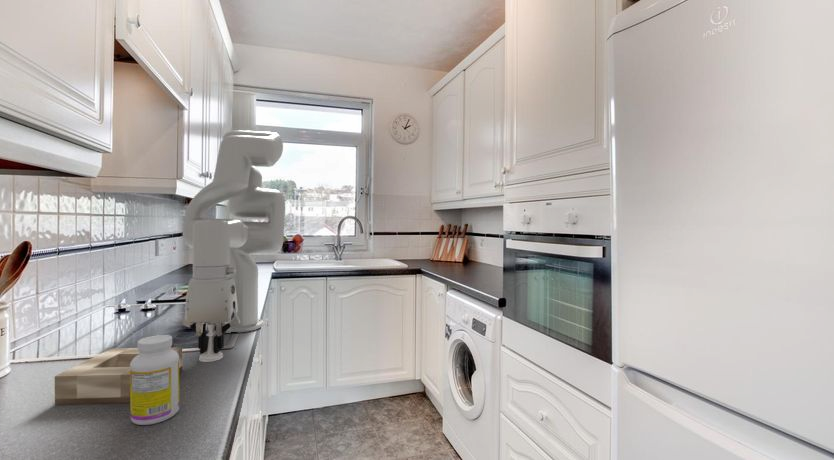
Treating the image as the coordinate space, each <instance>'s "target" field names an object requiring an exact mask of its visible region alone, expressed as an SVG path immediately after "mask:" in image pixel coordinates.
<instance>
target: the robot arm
mask: <svg viewBox="0 0 834 460" xmlns="http://www.w3.org/2000/svg"><path fill="white" fill-rule="evenodd" d="M283 144H284V142H283V139H282V137H281V135H280V134H278V132H274V131H273V132H271V131H258V130H257V131H255V130H243V129H242V130H240V129H239V130H230V131H226V132H225V133H224V134H223V137H222V140H221V142H220V144H219V149H218V155H217V159H216V164H215V169H214V174H213V179H212V181H211V182H210V183H208V184H207V185H206V186H204V187H202V189H200V190H199V191H198V193H196V194H195V195H194V196H193V198H192V199H191V200H190V202H189V203H188V206H187V208H186V211H185V215H184V220H183V227H182V240H183V242H184V243H185V245H186V246H188V247H189V248H191V249H192V278H191V279H189V281H188V287H187V291H186V297H185V307H184V308H185V311H184V317H183V319H182V321H181V325H182V326H184V327H187V328H190V329H191V330H192V331H193V333H194V334H195V336H197V337H198V340H197V341H198V346H197V347H198V349H199V354H200V355H202V354H204V353H206V351H207V348H208V342H209V336H206V334H207V333H208V328H207V326H206V325H207V324H208V323H216V326H215V332H216V335H214V353H218V352H222V350H223V348H224V346H225V333H226V334H232V333H231V332H238V333H246V332H252V331H255V330H258V329H261V328H262V327H263V326H264V320H262V319H260V318H259V308H258V307H259V290H258V289H259V267H258V265H257V263H256V262H255V260H254V258H252V256H251V255H255V254H261V255H262V254H267V255H268V254H277V253H279V252H280V251H281V250H282V248H283V245H284V235H285V221H286V218H285V216H286V199H285V196H284V195H283V192H281V191H280V190H278V189H273V188H262V186H263V185H262V183H263V175H262V174H261V172H260V171H259V169H258V168H259V167H261V168H262V167H263V168H265V167H266V168H269V167H273V166H274V165H276V163H277V162H278V161H279V160H280V159H281V157H282V155H283V151H284V145H283ZM257 167H258V168H257ZM228 200H229V203H228V204H229V206H228V208H229V209H228V210H229V213H230V214H231V216H232V217H233V218H212V217H208V218H205V217H204V216H205V214H206V213H208V211H209V210H210V209H211V208H213V207H214V206H215V205H218V204H220V203H223V202H226V201H228ZM234 218H235V219H234ZM239 219H241V220H239ZM242 220H243V221H242ZM244 220H247V221H244ZM248 220H250V221H248ZM251 220H264V221H251ZM265 220H267V221H265ZM238 333H237V334H238Z"/></svg>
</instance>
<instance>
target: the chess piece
mask: <svg viewBox="0 0 834 460" xmlns="http://www.w3.org/2000/svg"><path fill="white" fill-rule="evenodd" d="M206 326H207V334H206V336H209V342H208V348H207V351H206V352H205V353H203V354H200V355H199V359H198V360H199V361H200V362H202V363H211V362H215V361H218V360H221V359H222V358H224V354H223V352H222V351H219V352H218V353H214V336H216V331H215V330H216V323H207V325H206Z"/></svg>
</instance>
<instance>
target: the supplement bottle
mask: <svg viewBox="0 0 834 460" xmlns="http://www.w3.org/2000/svg"><path fill="white" fill-rule="evenodd" d="M172 344H173V336H172V335H170V334H158V335H151V336H150V335H149V336H146V337H142V338H140V339H138V341H137V345H136V346H137V347H136V348H137V349H138V351H139V355H137V356H136V357H135V358H133V360H132V361H131V363H130V402H129V403H130V420H131V422H132V423H133V424H135V425H140V426H148V425H155V424H158V423H162V422H164V421H165V422H166V421H167V420H168V419H170V418H172V417H173V416H175V415H176V414H177V413H178V412H179V409H180V373H179V355H178V353H177V352H176V351H174V350H171V347H172V346H173V345H172Z"/></svg>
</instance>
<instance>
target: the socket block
mask: <svg viewBox="0 0 834 460" xmlns="http://www.w3.org/2000/svg"><path fill="white" fill-rule="evenodd" d="M171 350H174V351H176V352H177V353H178V355H179V374H180V373H181V372H183V347H182V346H178V347H172V346H171ZM137 355H139V351H138V349H137V347H124V348H123V347H117V348H116V347H115V348H110V349H107V350H105V351H104V352H101V353H100V354H97V355H95V356H93V357H91V358H89V359H87V360H85V361H83V362H80V363H79V364H77V365H75V366H72V367H70V368H69V369H67V370H64V371H63V372H61V373H58V374H56V375H55V376H54V406H55V405H56V406H58V405H59V406H60V405H62V406H63V405H66V406H67V405H85V404H86V405H91V404H120V403H121V404H123V403H130V363H131V361H132V360H133V358H135V357H136V356H137Z"/></svg>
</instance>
